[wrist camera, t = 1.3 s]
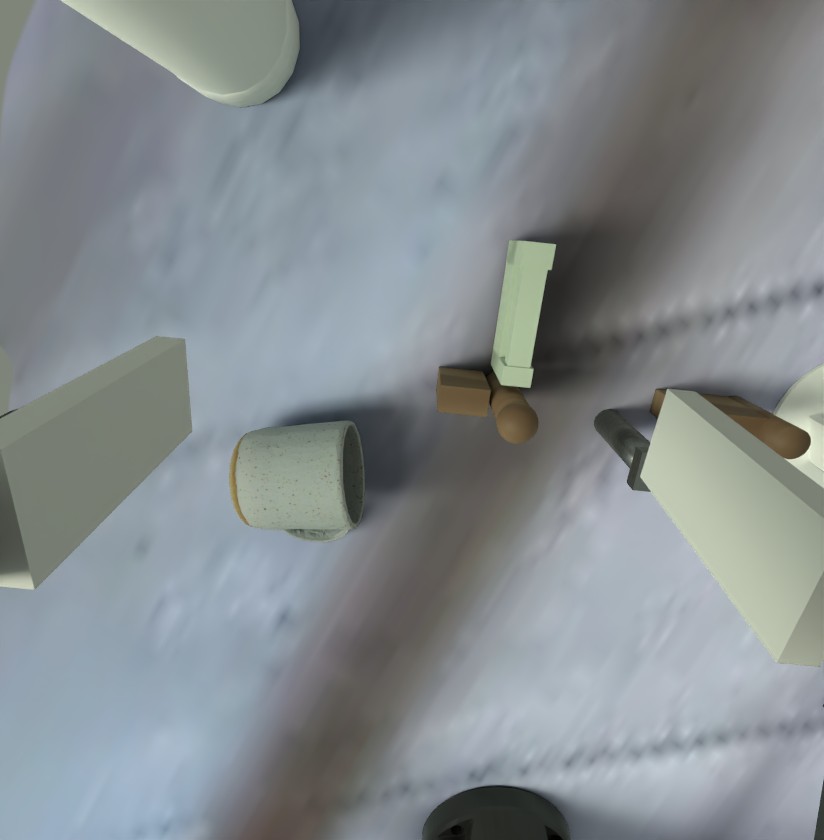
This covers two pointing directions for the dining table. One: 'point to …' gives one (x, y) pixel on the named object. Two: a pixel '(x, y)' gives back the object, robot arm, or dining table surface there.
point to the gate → (520, 311)
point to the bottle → (209, 41)
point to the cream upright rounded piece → (807, 420)
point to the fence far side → (754, 423)
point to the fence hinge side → (486, 401)
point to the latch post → (624, 444)
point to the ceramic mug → (300, 479)
